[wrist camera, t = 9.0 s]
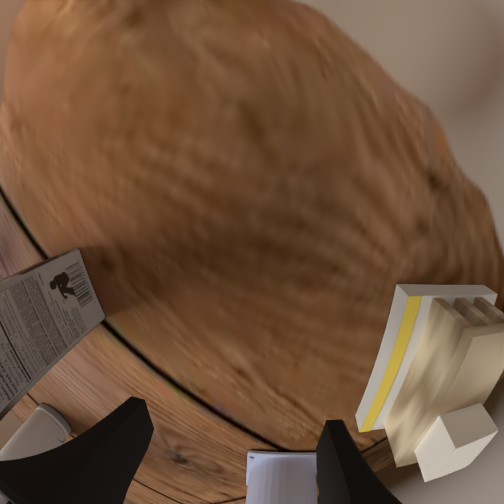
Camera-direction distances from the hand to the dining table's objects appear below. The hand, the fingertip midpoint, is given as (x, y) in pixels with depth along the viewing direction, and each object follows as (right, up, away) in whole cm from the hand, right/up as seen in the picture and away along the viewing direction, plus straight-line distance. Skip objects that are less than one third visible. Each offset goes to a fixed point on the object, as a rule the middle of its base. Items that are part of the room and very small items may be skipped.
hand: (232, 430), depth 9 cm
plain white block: (+14, -5, +2) cm, 15 cm away
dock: (+15, -2, +9) cm, 17 cm away
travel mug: (-29, -18, +18) cm, 38 cm away
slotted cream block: (+15, -2, +7) cm, 16 cm away
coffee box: (-16, +3, +11) cm, 20 cm away
